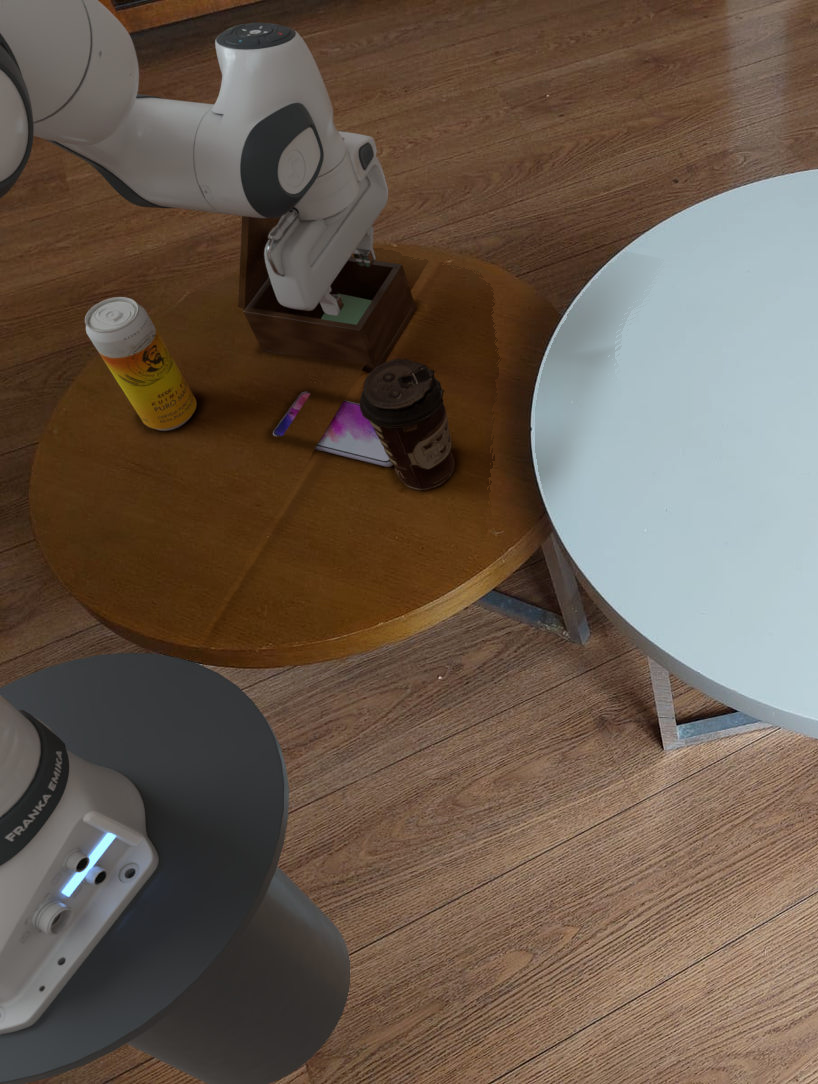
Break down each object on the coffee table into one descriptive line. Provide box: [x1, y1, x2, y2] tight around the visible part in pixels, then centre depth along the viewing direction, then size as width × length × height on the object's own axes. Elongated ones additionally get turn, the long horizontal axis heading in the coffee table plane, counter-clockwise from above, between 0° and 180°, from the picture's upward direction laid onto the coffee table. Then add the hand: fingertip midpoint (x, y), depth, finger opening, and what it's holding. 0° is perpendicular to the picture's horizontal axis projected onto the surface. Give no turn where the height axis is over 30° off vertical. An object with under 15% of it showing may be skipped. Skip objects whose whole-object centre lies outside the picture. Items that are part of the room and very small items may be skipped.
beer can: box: [84, 296, 198, 432], centre depth 120 cm, size 6×6×15 cm
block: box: [320, 294, 373, 325], centre depth 129 cm, size 4×4×4 cm
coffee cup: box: [359, 358, 455, 491], centre depth 115 cm, size 9×8×13 cm
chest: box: [243, 256, 417, 374], centre depth 130 cm, size 15×12×7 cm
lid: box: [237, 216, 282, 311], centre depth 122 cm, size 15×12×1 cm
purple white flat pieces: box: [272, 391, 394, 468], centre depth 123 cm, size 7×1×15 cm
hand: (351, 286), depth 124 cm, fingers open, 7 cm apart
